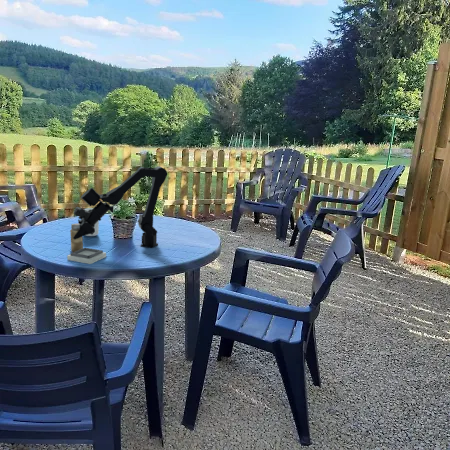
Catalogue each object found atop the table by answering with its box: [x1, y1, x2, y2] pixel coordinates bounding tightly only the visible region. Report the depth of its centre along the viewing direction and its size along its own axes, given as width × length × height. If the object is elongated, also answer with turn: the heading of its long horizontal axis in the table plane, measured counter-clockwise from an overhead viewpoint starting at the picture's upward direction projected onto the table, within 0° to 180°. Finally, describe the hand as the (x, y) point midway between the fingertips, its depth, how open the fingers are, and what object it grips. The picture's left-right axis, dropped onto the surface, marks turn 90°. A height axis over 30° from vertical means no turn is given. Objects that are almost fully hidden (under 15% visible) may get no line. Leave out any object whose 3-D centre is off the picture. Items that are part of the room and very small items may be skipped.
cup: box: [84, 207, 100, 237], centre depth 219 cm, size 8×8×14 cm
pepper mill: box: [69, 223, 84, 253], centre depth 195 cm, size 5×5×12 cm
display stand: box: [66, 247, 107, 265], centre depth 186 cm, size 12×11×3 cm
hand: (73, 237), depth 195 cm, fingers closed on pepper mill, 5 cm apart
